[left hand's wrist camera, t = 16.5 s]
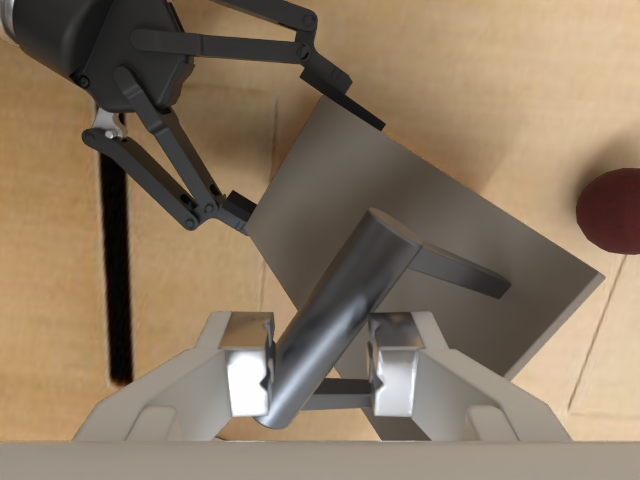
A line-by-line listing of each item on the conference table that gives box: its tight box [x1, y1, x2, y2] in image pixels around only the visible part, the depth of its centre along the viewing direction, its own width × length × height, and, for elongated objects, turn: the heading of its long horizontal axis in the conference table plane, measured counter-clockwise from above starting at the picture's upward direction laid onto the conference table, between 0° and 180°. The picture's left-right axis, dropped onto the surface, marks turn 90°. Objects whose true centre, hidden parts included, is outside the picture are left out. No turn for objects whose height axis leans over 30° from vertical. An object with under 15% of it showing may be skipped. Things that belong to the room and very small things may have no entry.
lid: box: [244, 95, 606, 441], centre depth 18 cm, size 18×10×8 cm
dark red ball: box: [576, 168, 640, 255], centre depth 36 cm, size 7×8×7 cm
